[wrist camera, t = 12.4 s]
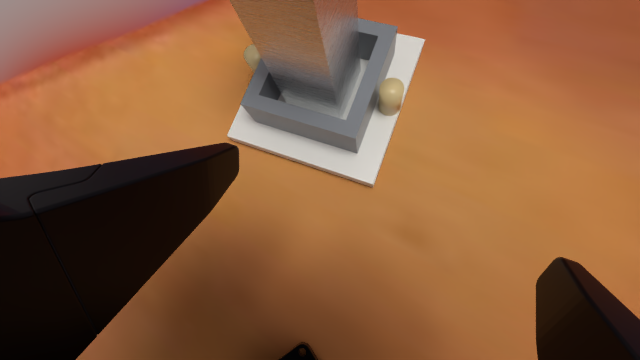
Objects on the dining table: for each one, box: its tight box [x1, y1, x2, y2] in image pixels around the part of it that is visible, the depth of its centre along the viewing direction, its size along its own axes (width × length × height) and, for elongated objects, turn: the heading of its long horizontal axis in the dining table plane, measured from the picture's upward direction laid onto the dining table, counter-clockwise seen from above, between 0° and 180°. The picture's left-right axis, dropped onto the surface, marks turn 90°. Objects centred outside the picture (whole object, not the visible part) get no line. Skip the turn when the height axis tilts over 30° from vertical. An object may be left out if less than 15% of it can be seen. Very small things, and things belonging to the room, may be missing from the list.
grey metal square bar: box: [230, 0, 361, 119], centre depth 18 cm, size 4×4×13 cm
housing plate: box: [227, 18, 425, 187], centre depth 23 cm, size 12×12×4 cm
